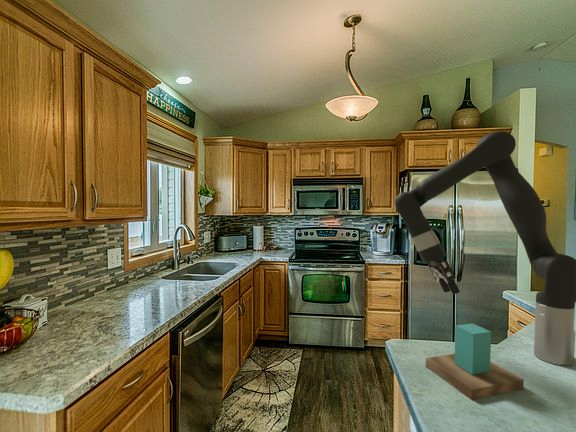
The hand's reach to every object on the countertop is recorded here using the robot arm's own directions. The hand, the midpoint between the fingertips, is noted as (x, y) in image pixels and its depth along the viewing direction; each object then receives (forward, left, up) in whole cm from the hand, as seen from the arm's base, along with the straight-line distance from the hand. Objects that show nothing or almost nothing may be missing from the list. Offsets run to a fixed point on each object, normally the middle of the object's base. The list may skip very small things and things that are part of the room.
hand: (452, 292), depth 100 cm
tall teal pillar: (+6, +14, -17) cm, 23 cm away
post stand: (+6, +14, -19) cm, 25 cm away
